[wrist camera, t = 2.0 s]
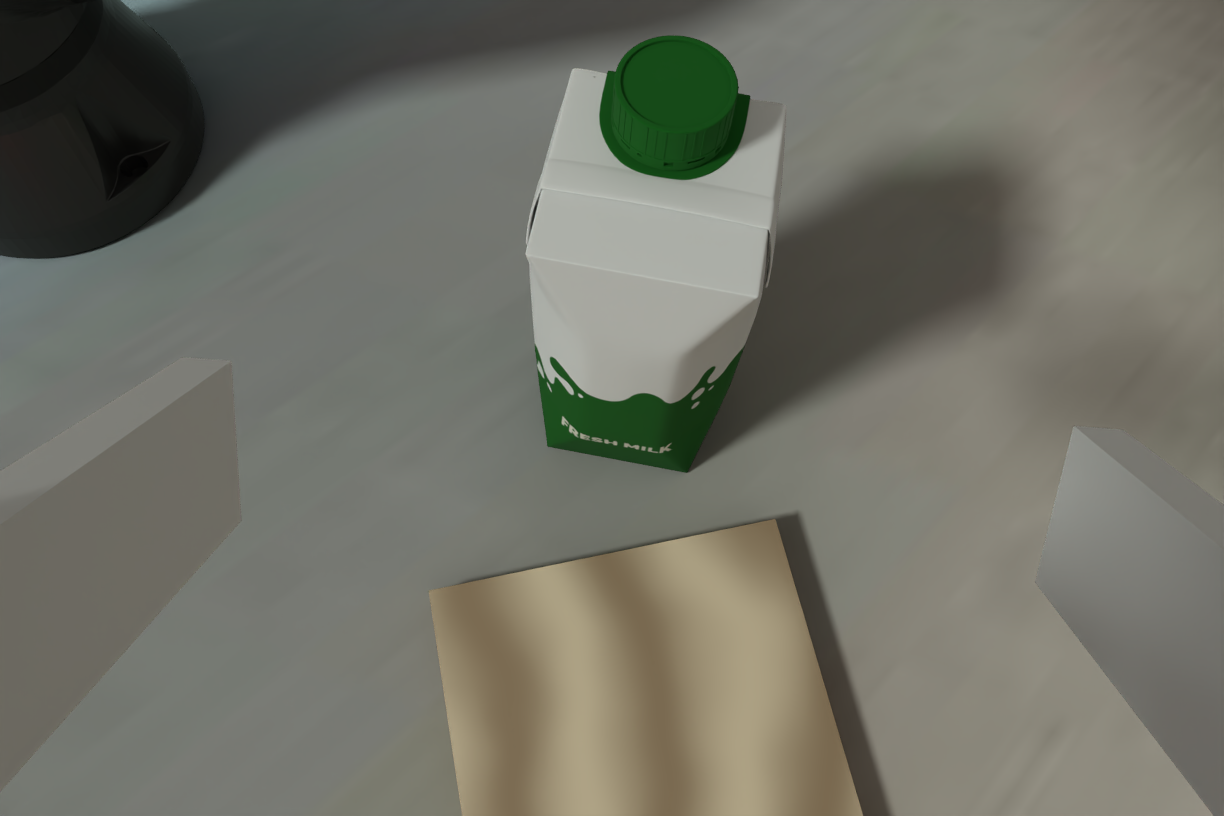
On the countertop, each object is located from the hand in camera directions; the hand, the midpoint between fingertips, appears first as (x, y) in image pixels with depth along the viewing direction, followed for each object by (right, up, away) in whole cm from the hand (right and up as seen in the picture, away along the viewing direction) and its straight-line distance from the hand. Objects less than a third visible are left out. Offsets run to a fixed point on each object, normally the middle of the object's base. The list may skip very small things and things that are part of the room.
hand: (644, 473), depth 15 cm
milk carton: (0, +2, +33) cm, 33 cm away
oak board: (+1, -13, +27) cm, 30 cm away
